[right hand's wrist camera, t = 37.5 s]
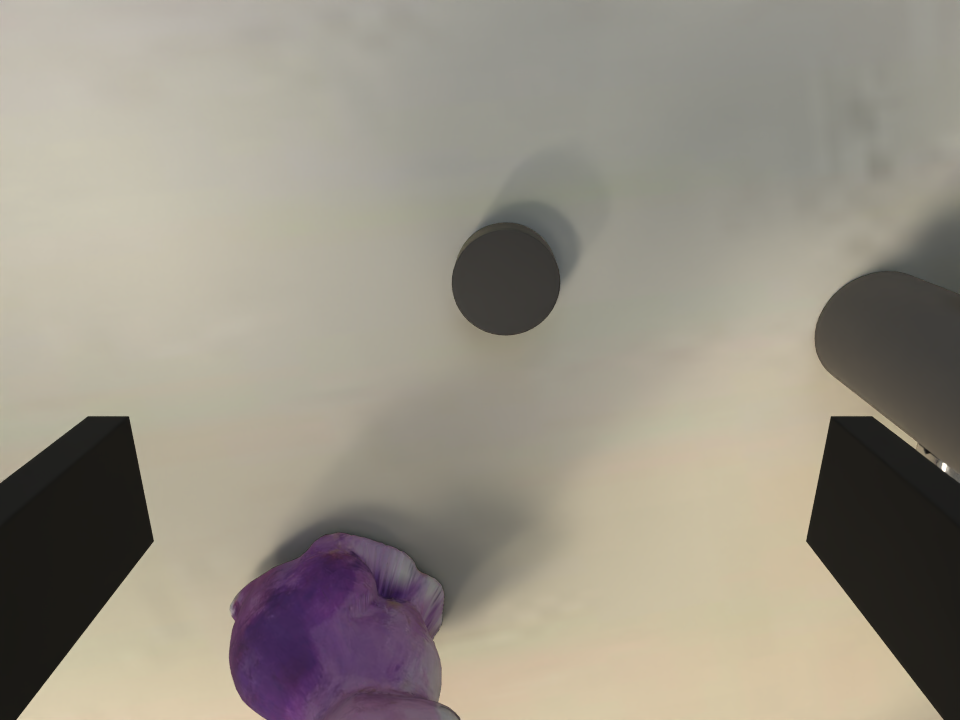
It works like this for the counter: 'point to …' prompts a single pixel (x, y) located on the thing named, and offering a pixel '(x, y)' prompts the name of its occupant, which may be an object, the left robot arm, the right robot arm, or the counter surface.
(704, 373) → the counter surface
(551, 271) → the cap
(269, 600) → the figurine
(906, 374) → the bottle
